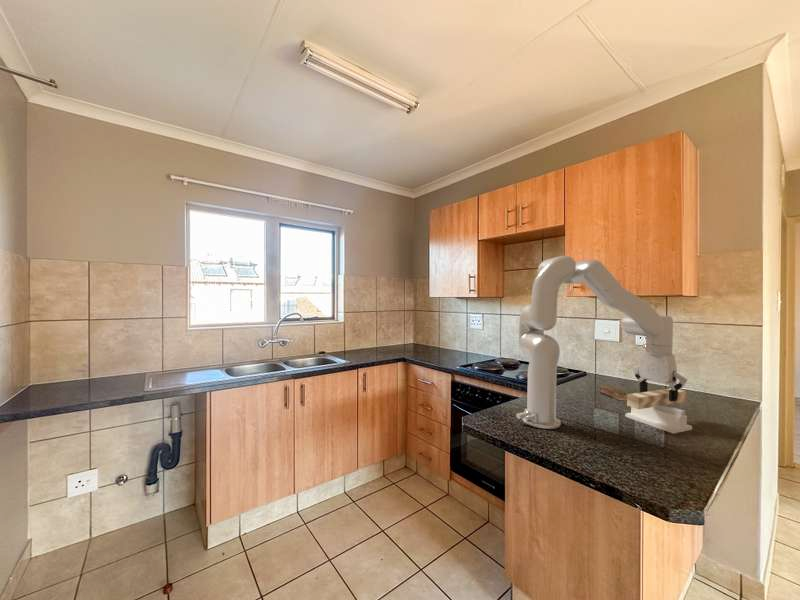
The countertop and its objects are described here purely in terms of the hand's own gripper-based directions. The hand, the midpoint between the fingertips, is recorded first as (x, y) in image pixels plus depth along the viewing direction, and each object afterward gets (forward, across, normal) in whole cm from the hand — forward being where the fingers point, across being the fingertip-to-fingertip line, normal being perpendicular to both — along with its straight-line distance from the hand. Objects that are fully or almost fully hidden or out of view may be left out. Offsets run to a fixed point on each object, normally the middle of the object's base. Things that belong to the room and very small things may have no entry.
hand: (657, 396), depth 118 cm
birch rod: (+2, 0, 0) cm, 2 cm away
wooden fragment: (+10, -32, +20) cm, 39 cm away
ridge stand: (+10, 0, 0) cm, 10 cm away
